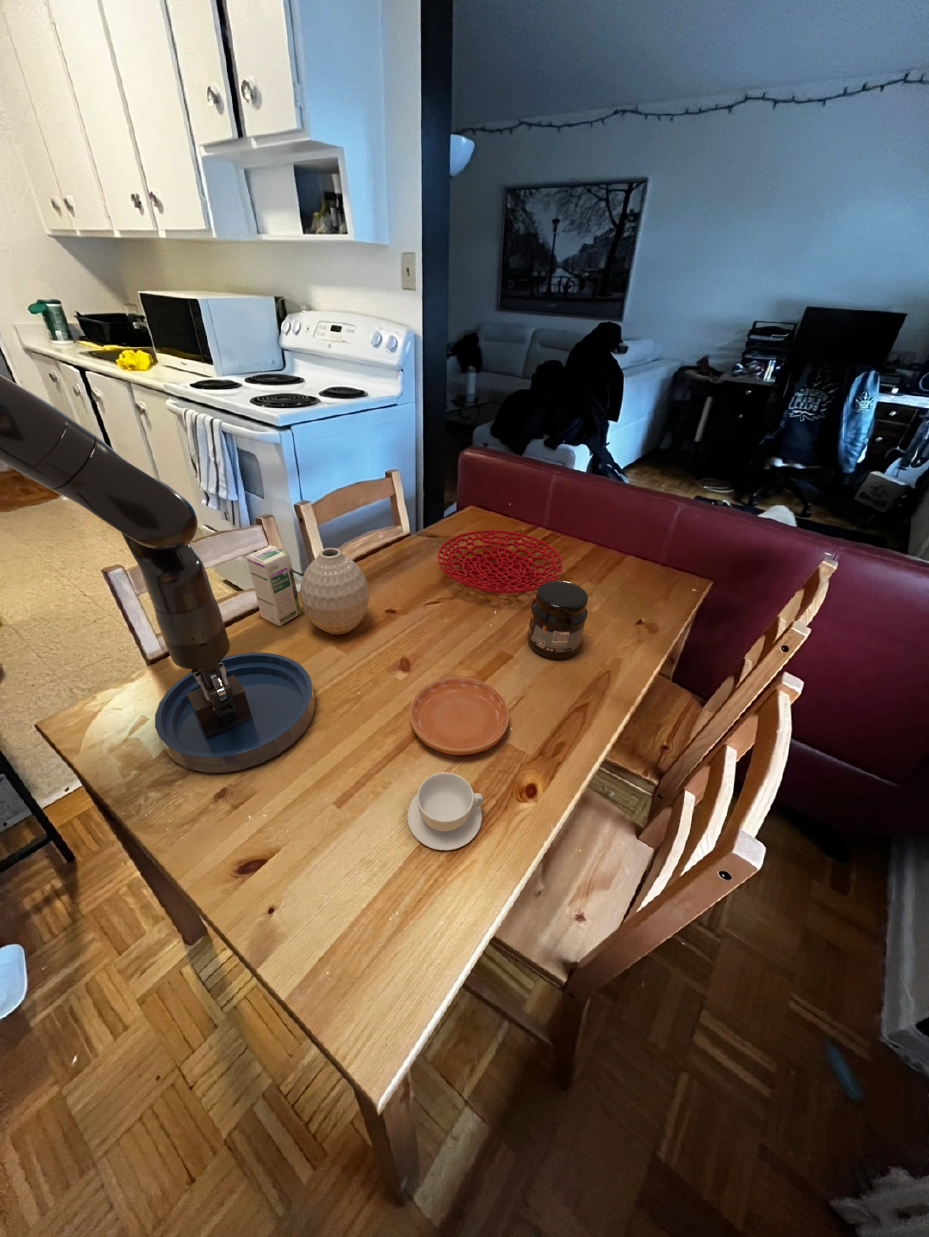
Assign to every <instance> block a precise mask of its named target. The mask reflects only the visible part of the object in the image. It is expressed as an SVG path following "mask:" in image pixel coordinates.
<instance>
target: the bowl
mask: <svg viewBox="0 0 929 1237" xmlns="http://www.w3.org/2000/svg"><path fill="white" fill-rule="evenodd" d="M495 534H499V535H495ZM502 534H503V535H504V534H505V536H502ZM472 535H474V536H475V537H472ZM467 536H468V537H467ZM491 536H492V537H491ZM464 537H466V538H464ZM496 539H497V541H495V540H496ZM526 539H528V540H526ZM470 540H471V541H470ZM478 540H479V541H480V542H481V543H482V544H475V543H474V542H475V541H478ZM501 540H504V541H505V542H503V541H501ZM518 540H519V541H521V542H519V541H518ZM509 541H513V542H509ZM460 542H465V543H466V544H465V545H460ZM447 545H449V546H448V547H447ZM493 545H495V546H493ZM540 545H542V546H544V547H541V546H540ZM469 546H472V547H471V548H469ZM521 546H523V547H524V548H520V547H521ZM508 547H513V548H516V549H515V550H512V549H509V548H508ZM536 548H537V549H536ZM443 549H444V550H445V551H443ZM478 549H482V552H475V550H478ZM488 549H491V550H488ZM528 549H531V550H532V551H529V550H528ZM462 550H465V552H463V551H462ZM547 550H550V552H547ZM518 553H525V555H526V556H523V555H520V554H518ZM535 553H537V554H541V555H539V556H534V554H535ZM457 554H460V556H458V555H457ZM440 555H443V556H440ZM468 555H471V557H467V556H468ZM485 555H486V556H485ZM555 558H557V561H556V560H555ZM549 559H551V560H550V561H548V560H549ZM440 560H442V561H440ZM453 560H455V561H453ZM539 560H542V561H544V563H543V564H537V563H535V562H534V561H539ZM491 561H492V562H491ZM437 563H438V565H439V567H440V568H441V571H442V572H443V573H444V574H445V575H446V576H448V578H450V579H451V580H454V581H455V582H458V584H460V585H463V586H466V587H469V588H472V589H475V590H479V591H483V592H489V593H497V594H520V593H528V592H532V591H533V592H534V591H537V588H538V587H539V586H540V585H541V584H543V583H546V582H549V581H557V579H559V577H560V576H561V574H562V572H563V569H564V566H563V559H562V557H561V555H560V554H559V553H558V552H557V551H556V549H555V548H553V546H551V545H550V544H548V543H547V542H545V541H543V540H541V539H538V538H536V537H534V536H530V535H527V534H523V533H520V532H514V531H507V530H499V529H498V530H497V529H485V530H473V531H468V532H464V533H461V534H458V535H455V536H453V537H452V538H450V539H448V540H447V541H445V542H444V543H443V544H441V546H440V547H439V549H438V553H437ZM557 564H560V565H559V566H557ZM546 565H550V566H547V567H546ZM443 566H444V567H445V568H444V567H443ZM455 566H459V567H460V568H462V569H457V568H456V567H455ZM530 566H531V567H530ZM538 569H539V570H540V569H542V571H537V570H538ZM551 572H553V573H551ZM538 581H539V582H538Z"/></svg>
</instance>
